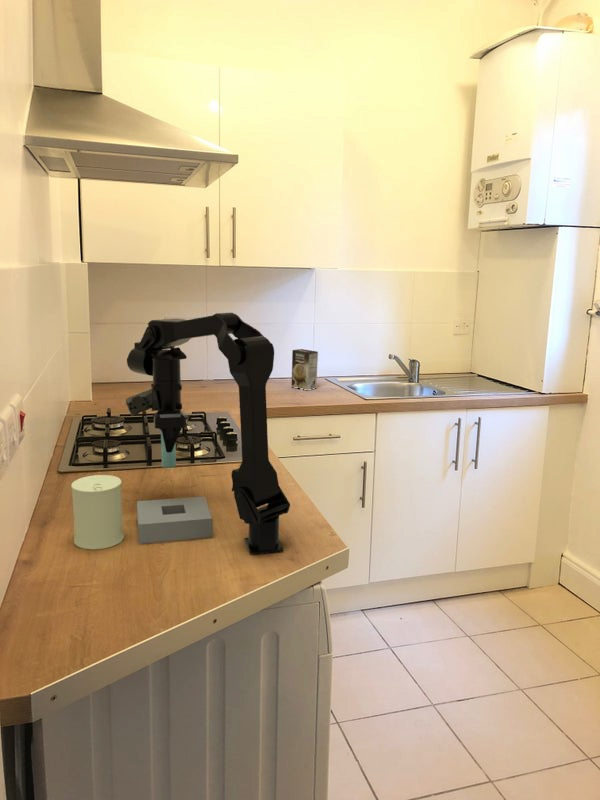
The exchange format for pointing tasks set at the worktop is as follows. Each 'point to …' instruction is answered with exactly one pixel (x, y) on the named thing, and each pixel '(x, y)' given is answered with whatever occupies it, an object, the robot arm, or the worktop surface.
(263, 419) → the robot arm
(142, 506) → the hole block
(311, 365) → the coffee box
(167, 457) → the peg
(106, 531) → the can
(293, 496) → the worktop surface
